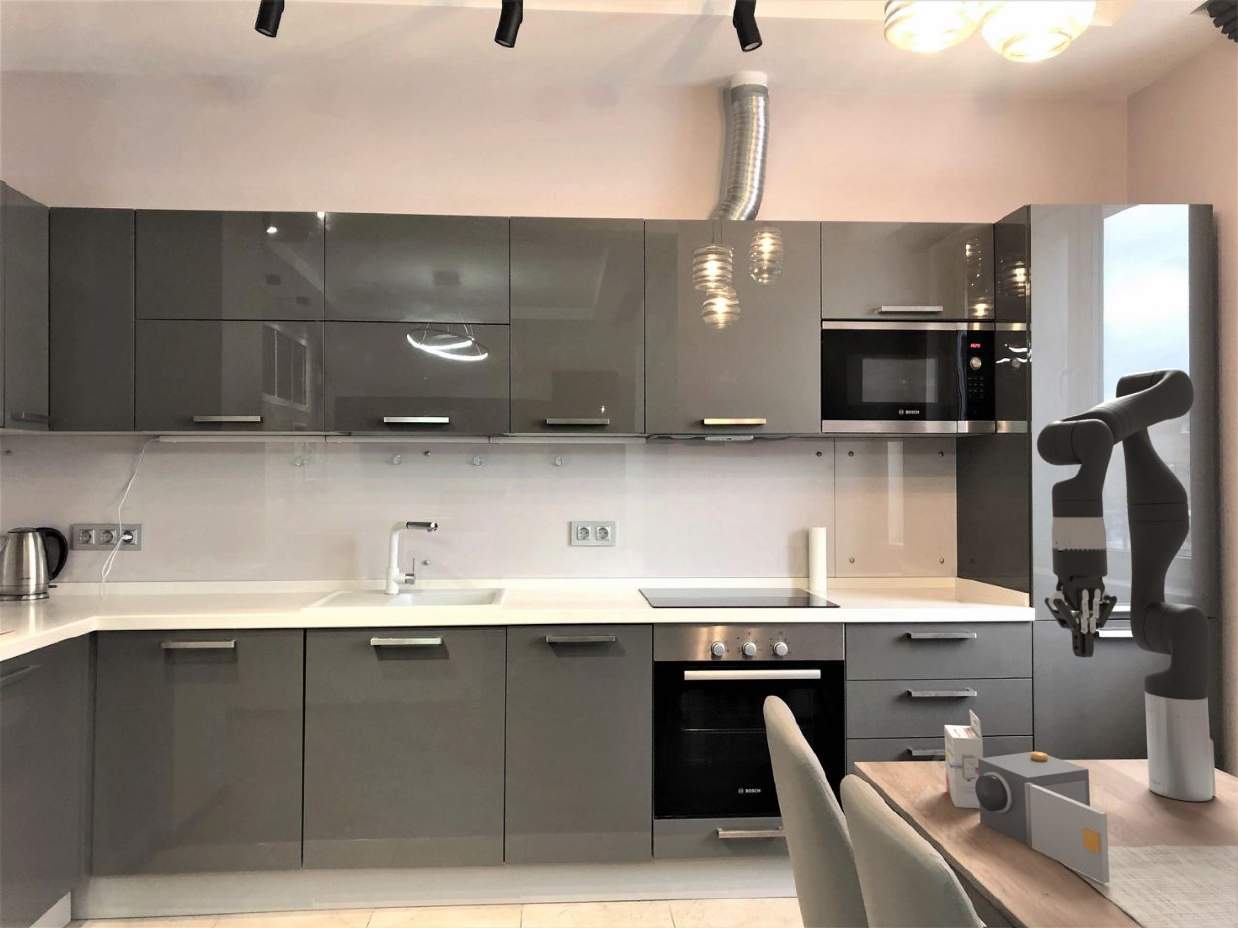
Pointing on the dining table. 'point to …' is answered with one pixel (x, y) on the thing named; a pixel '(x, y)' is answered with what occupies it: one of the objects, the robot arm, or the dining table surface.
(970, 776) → the ink cartridge box
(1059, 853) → the side door
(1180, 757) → the robot arm
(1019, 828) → the camera body
